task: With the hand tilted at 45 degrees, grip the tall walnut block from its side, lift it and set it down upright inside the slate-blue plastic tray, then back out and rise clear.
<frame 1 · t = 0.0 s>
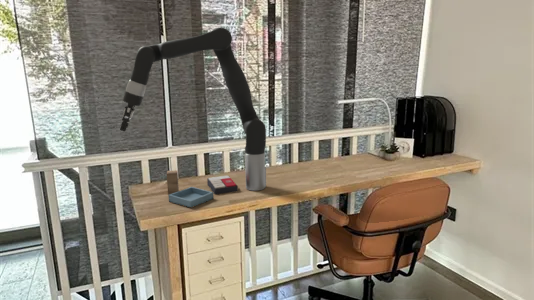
hand: (123, 129, 168), 31 cm above the table, tool tilted 20°, fingers open, 8 cm apart
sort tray: (191, 200, 173), on the table
walnut block: (173, 192, 183), on the table
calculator: (222, 189, 189), on the table
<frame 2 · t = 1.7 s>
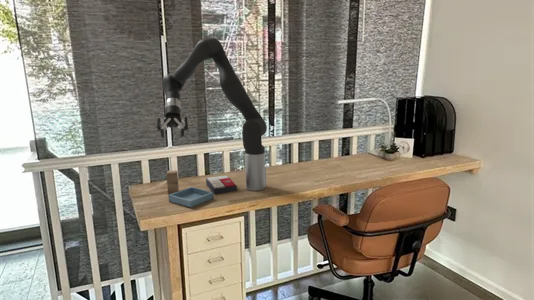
hand: (172, 137, 185), 25 cm above the table, tool tilted 45°, fingers open, 8 cm apart
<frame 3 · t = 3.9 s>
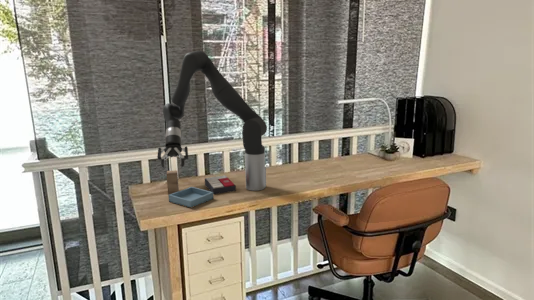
hand: (172, 167, 186), 11 cm above the table, tool tilted 45°, fingers open, 8 cm apart
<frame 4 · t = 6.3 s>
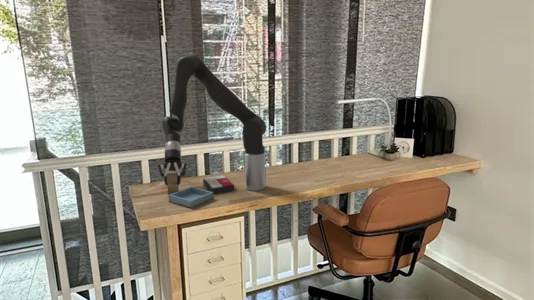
hand: (172, 184, 180), 5 cm above the table, tool tilted 45°, fingers closed on walnut block, 4 cm apart
walnut block: (173, 192, 183), on the table, touching gripper
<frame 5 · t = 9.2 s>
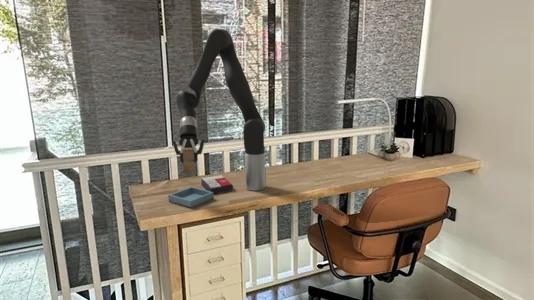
hand: (188, 162, 168), 18 cm above the table, tool tilted 45°, fingers closed on walnut block, 4 cm apart
walnut block: (189, 171, 170), point 13 cm above the table, touching gripper
when the fingers open (7 cm above the table, at t = 12.1 s): walnut block drops 1 cm, resting on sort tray.
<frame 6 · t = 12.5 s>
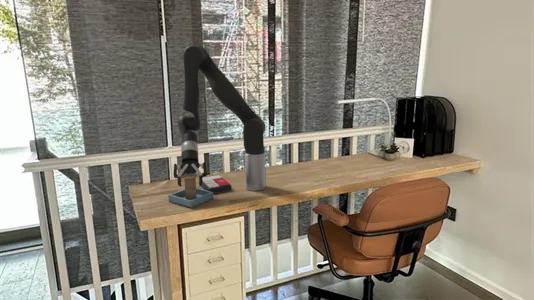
hand: (190, 185, 170), 7 cm above the table, tool tilted 45°, fingers open, 8 cm apart
walnut block: (191, 198, 173), point 1 cm above the table, touching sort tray
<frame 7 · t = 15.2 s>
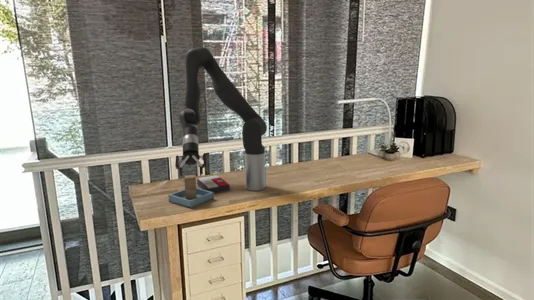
hand: (191, 175, 183), 8 cm above the table, tool tilted 45°, fingers open, 8 cm apart
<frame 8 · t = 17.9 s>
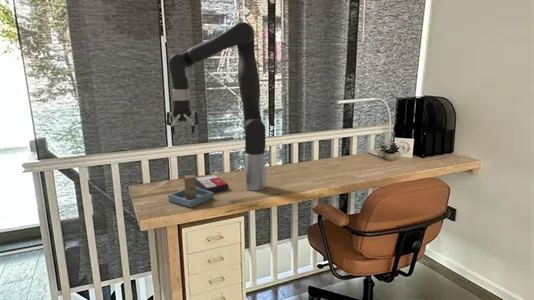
hand: (183, 133, 185), 26 cm above the table, tool pointing down, fingers open, 8 cm apart
at the end: walnut block inside the target area on the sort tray (0.1 cm from its centre), point 0.6 cm above the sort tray's base; walnut block tilted 0°; the gripper is holding nothing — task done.
